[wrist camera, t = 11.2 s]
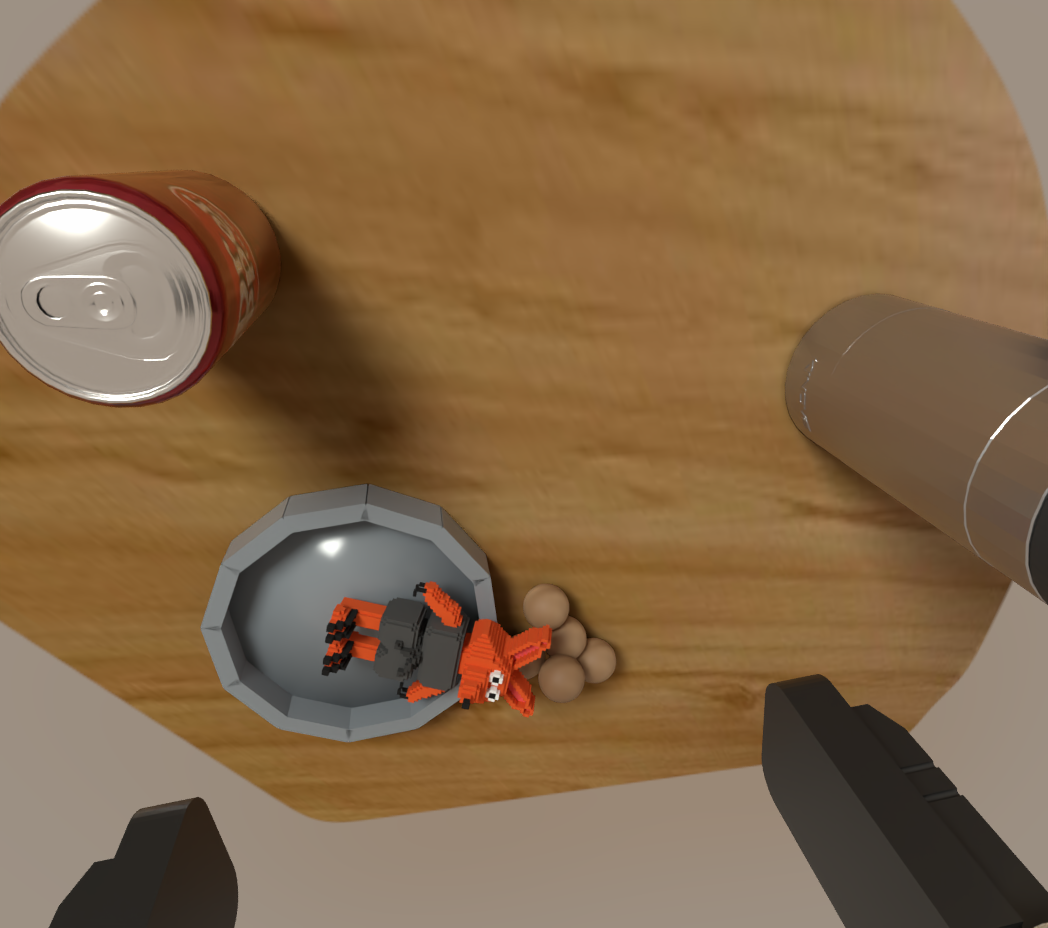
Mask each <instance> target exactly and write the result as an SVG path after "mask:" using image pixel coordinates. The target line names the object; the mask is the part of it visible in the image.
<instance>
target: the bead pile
mask: <svg viewBox="0 0 1048 928" xmlns="http://www.w3.org/2000/svg"><path fill="white" fill-rule="evenodd" d="M523 611H524V615H525V617H526V619H527V621H528V622H529V623H530V624H531V625H532V626H533V627H535V628H542V627H543V626H546V624H547V625H550V626H549V628H552V635H551V645H550V649H546V653H547V654H548V655H549V656H550V658H548V659H547V660H546V661H545V651H543V650H542V654H541V658H537V660H533V662H529V664H525V666H522V667H521V668H519V667H518V669H519V672H522V675H524V678H527V679H530V678H533V677H534V676H536V675H537V674H538V673H539V676H538V681H539V686H540V688H541V690H542V692H543V693H544V695H545V696H546V697H547V698H549V699H550V700H552V701H554V702H558V703H566V702H570V701H572V700H574V699H575V698H576V697H577V696H578V695H579V694H580V693H581V691H582V689H583V687H584V683H585V681H586V682H589V683H600V682H603V681H605V680H607V679H608V678H609V677H610V676H611V675H612V674H613V672H614V670H615V667H616V656H615V652H614V650H613V648H612V647H611V646H610V645H609V644H608V643H607V642H606V641H604V640H602V639H599V638H588V639H586V632H585V629H584V627H583V626H582V624H581V623H580V622H579V621H578V620H577V619H575V618H573V617H571V616H568V613H569V601H568V598H567V596H566V594H565V593H564V592H563V591H562V590H561V589H560V588H559V587H557V586H555V585H552V584H540V585H537V586H535V587H534V588H532V589H531V590H530V591H529V592H528V593H527V595H526V597H525V599H524V603H523ZM514 636H518V634H516V635H514ZM514 636H512V637H511V638H514Z"/></svg>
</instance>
